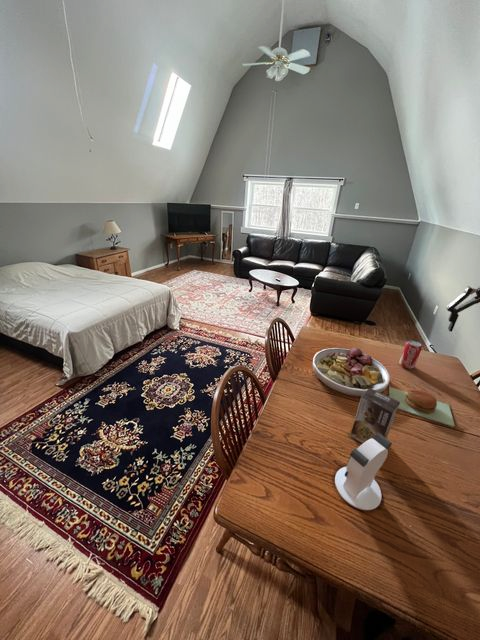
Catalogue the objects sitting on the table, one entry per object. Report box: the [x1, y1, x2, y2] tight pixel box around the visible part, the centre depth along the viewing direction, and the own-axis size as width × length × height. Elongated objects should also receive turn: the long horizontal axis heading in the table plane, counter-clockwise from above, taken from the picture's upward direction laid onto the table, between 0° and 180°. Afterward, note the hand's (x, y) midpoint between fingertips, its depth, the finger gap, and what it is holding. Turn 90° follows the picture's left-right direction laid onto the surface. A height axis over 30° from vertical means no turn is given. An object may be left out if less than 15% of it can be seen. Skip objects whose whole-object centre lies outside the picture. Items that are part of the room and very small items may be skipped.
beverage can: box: [398, 340, 423, 369], centre depth 121 cm, size 6×6×12 cm
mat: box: [388, 386, 456, 428], centre depth 99 cm, size 20×12×1 cm, turn 63°
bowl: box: [312, 347, 391, 398], centre depth 112 cm, size 30×30×8 cm
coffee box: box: [349, 388, 400, 444], centre depth 81 cm, size 9×6×16 cm
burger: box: [405, 388, 438, 414], centre depth 98 cm, size 10×9×5 cm
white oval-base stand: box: [334, 433, 393, 511], centre depth 67 cm, size 12×11×15 cm
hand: (472, 334), depth 95 cm, fingers open, 13 cm apart
